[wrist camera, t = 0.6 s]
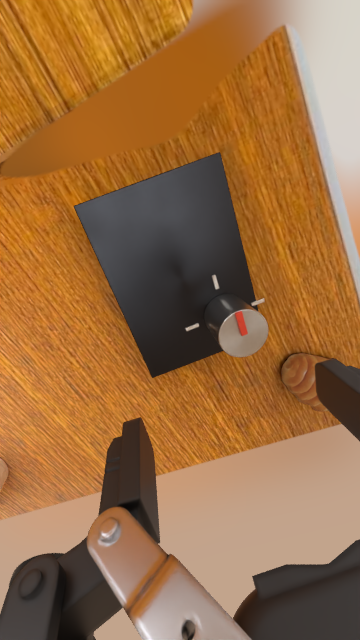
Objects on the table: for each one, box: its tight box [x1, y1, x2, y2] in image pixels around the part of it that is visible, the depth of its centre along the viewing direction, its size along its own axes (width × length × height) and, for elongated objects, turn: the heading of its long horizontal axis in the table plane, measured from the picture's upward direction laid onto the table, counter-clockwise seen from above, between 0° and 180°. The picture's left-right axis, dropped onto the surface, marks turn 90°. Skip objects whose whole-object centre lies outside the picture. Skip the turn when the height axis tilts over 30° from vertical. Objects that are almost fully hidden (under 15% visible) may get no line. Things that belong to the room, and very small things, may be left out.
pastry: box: [281, 353, 329, 411], centre depth 33 cm, size 9×7×4 cm
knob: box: [204, 294, 268, 357], centre depth 24 cm, size 4×4×6 cm
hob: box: [74, 152, 265, 378], centre depth 26 cm, size 18×14×3 cm
